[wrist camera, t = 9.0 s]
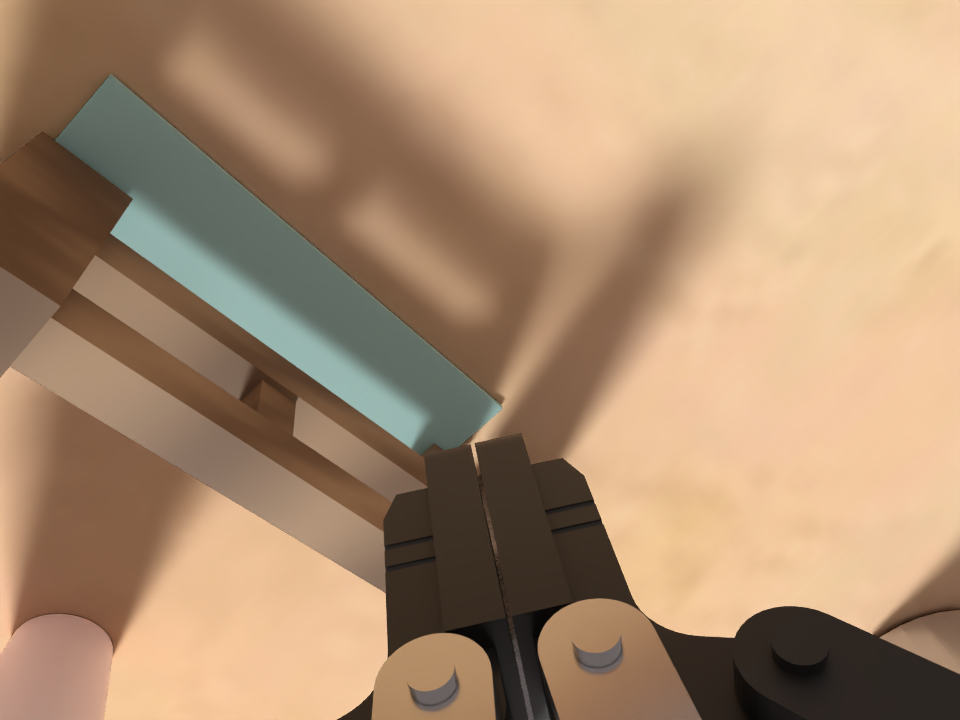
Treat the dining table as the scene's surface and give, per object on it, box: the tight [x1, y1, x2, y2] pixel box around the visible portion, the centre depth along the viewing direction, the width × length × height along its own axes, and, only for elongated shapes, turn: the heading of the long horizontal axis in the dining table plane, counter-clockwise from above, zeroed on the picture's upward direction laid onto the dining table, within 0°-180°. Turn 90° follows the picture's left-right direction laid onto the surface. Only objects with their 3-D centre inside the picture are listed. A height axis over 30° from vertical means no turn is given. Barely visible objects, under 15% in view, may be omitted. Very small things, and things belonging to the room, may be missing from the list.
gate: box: [0, 132, 443, 593], centre depth 24 cm, size 17×3×7 cm, turn 45°
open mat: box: [55, 74, 503, 455], centre depth 27 cm, size 16×6×1 cm, turn 43°
